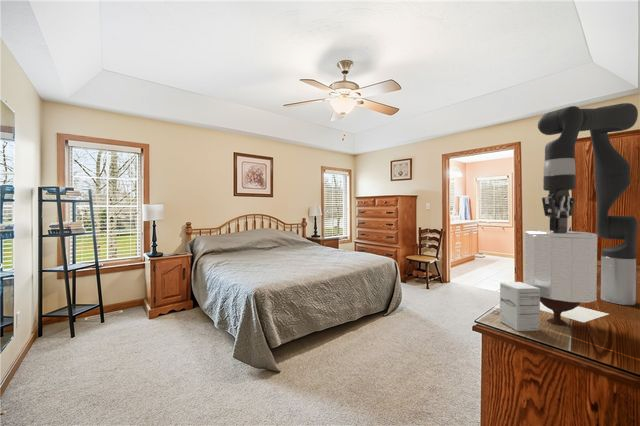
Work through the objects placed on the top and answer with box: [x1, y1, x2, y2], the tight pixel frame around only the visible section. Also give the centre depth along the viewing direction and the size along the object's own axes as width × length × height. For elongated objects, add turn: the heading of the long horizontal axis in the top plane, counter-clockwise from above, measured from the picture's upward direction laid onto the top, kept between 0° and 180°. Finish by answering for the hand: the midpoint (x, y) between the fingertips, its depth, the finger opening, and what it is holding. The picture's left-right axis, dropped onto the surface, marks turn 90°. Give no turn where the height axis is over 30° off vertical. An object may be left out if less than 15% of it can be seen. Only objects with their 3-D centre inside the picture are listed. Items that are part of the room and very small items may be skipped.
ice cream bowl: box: [540, 297, 582, 327], centre depth 87 cm, size 11×11×15 cm
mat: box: [540, 302, 610, 324], centre depth 98 cm, size 17×17×1 cm
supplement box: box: [499, 281, 541, 332], centre depth 85 cm, size 7×7×13 cm
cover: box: [523, 218, 598, 304], centre depth 87 cm, size 17×17×24 cm
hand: (558, 230), depth 87 cm, fingers closed on cover, 4 cm apart
